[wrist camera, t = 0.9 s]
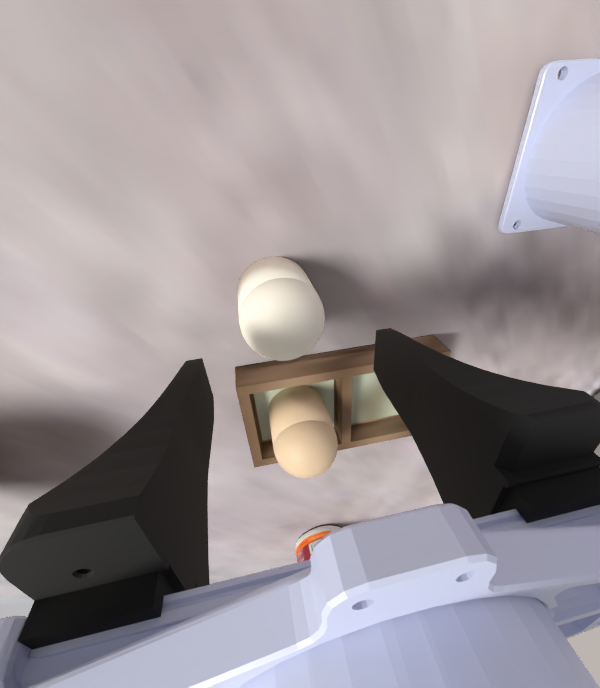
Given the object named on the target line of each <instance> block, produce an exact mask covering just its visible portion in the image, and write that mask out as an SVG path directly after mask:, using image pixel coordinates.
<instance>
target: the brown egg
mask: <svg viewBox="0 0 600 688" xmlns="http://www.w3.org/2000/svg"><path fill="white" fill-rule="evenodd" d="M268 414H269V421H270V428H271V435H272V442H273V449H274V453H275V457H276V459H277V461H278V463H279V464H280V466H281V467H282V468H283V469H284V470H285V471H286V472H288V473H289V474H291V475H293V476H295V477H299V478H312V477H316V476H318V475H320V474H322V473H324V472H325V471H326V470H327V469H328V468H329V467H330V466H331V464H332V463H333V461H334V459H335V457H336V453H337V447H338V443H337V436H336V433H335V430H334V427H333V424H332V422H331V419H330V416H329V413H328V411H327V408H326V405H325V402H324V400H323V397H322V395H321V394H320V392H318V391H317V390H316V389H314V388H312V387H309V386H303V385H300V386H294V387H288V388H286V389H283V390H282V391H280V392H279V393H277V394H276V395H275V396H274V397H273V398H272V400H271V401H270V403H269V407H268Z"/></svg>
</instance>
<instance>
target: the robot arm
mask: <svg viewBox="0 0 600 688" xmlns="http://www.w3.org/2000/svg"><path fill="white" fill-rule="evenodd" d="M559 70H561V75H560V77H559V79H558V72H559ZM515 222H516V225H515V226H514V227H513V225H514V223H515ZM567 226H572V227H576V228H580V229H584V230H588V231H592V232H596V233H600V58H592V59H574V60H556V61H552V62H549V63H547V64H546V65H545V66H543V68H542V69H541V71H540V73H539V76H538V79H537V83H536V87H535V91H534V94H533V98H532V102H531V105H530V109H529V113H528V117H527V120H526V124H525V128H524V131H523V135H522V139H521V143H520V146H519V150H518V154H517V157H516V161H515V165H514V169H513V172H512V176H511V180H510V183H509V187H508V191H507V195H506V198H505V202H504V206H503V209H502V213H501V217H500V221H499V224H498V230H499V232H500V233H503V234H511V233H519V232H527V231H535V230H543V229H551V228H559V227H567ZM373 370H374V372H375V374H376V376H377V379H378V381H379V383H380V385H381V387H382V389H383V391H384V392H385V394H386V396H387V397H388V399H389V400H390V402H391V403H392V405H393V407H394V408H395V410H396V411H397V413H398V414H399V416H400V417H401V419H402V420H403V422H404V424H405V425H406V427H407V428H408V430H409V432H410V433H411V435H412V437H413V439H414V440H415V442H416V444H417V446H418V448H419V450H420V452H421V454H422V456H423V459H424V461H425V463H426V465H427V467H428V469H429V471H430V473H431V476H432V478H433V480H434V482H435V485H436V487H437V489H438V491H439V494H440V496H441V498H442V501H443V503H444V504H437V505H431V506H427V507H423V508H419V509H415V510H410V511H406V512H402V513H398V514H394V515H389V516H385V517H381V518H377V519H373V520H368V521H364V522H360V523H356V524H352V525H348V526H345V527H343V528H340V529H337V530H335V531H332V532H330V533H329V534H327V535H326V536H325V537H324V538H322V539H321V540H320V541H318V542H317V544H316V545H315V547H314V550H313V552H312V554H311V557H310V560H307V561H303V562H299V563H295V564H291V565H287V566H282V567H278V568H274V569H270V570H266V571H262V572H258V573H254V574H250V575H246V576H242V577H238V578H234V579H230V580H226V581H222V582H218V583H214V584H210V585H209V564H208V512H207V495H208V468H209V459H210V451H211V442H212V433H213V424H214V400H213V394H212V391H211V387H210V384H209V380H208V377H207V374H206V370H205V367H204V363H203V360H202V358H201V359H195V360H189V361H186V362H185V363H184V365H183V366H182V367H181V369H180V370H179V371H178V373H177V374H176V376H175V377H174V379H173V380H172V381H171V383H170V384H169V385H168V387H167V388H166V389H165V391H164V392H163V393H162V395H161V396H160V397H159V398H158V400H157V401H156V402H155V403H154V404H153V406H152V407H151V408H150V409H149V410H148V412H147V413H146V414H145V415H144V416H143V417H142V418H141V419H140V420H139V421H138V422H137V423H136V424H135V425H134V426H133V427H132V428H131V429H130V430H129V431H128V432H127V433H126V434H125V435H124V436H123V437H121V438H120V439H119V440H118V441H117V442H116V443H114V444H113V445H112V446H111V447H110V448H109V449H107V450H106V451H105V452H104V453H103V454H101V455H100V456H99V457H98V458H96V459H95V460H94V461H92V462H91V463H90V464H88V465H87V466H86V467H84V468H83V469H82V470H80V471H79V472H77V473H76V474H75V475H73V476H72V477H70V478H69V479H67V480H66V481H64V482H63V483H61V484H60V485H58V486H57V487H55V488H54V489H52V490H50V491H49V492H47V493H46V494H44V495H43V496H41V497H40V498H38V499H36V500H35V501H33V502H31V503H30V504H29V505H28V507H27V508H26V510H25V512H24V514H23V515H22V517H21V519H20V521H19V522H18V524H17V526H16V528H15V530H14V531H13V533H12V535H11V537H10V539H9V541H8V542H7V544H6V546H5V548H4V550H3V551H2V553H1V555H0V573H1V574H2V575H3V576H4V577H5V578H6V579H7V580H8V581H9V582H10V583H12V584H13V585H14V586H16V587H17V588H18V589H20V590H21V591H22V592H24V593H25V594H26V595H28V596H29V597H31V598H32V599H33V600H35V601H34V604H33V606H32V608H31V611H30V613H29V616H28V617H25V616H12V617H6V618H2V619H0V688H599V686H598V685H597V683H596V682H595V680H594V679H593V677H592V676H591V674H590V673H589V671H588V670H587V668H586V667H585V666H584V664H583V663H582V661H581V660H580V658H579V657H578V655H577V654H576V652H575V651H574V649H573V648H572V647H571V645H570V644H569V642H568V641H567V638H570V637H572V636H575V635H578V634H580V633H583V632H586V631H588V630H591V629H593V628H596V627H599V626H600V467H599V466H600V457H598V456H597V455H596V454H595V453H594V450H595V449H596V448H597V446H598V445H599V443H600V402H599V401H597V400H596V399H594V398H593V397H592V396H590V395H589V394H588V393H586V392H584V391H579V390H572V389H566V388H559V387H553V386H547V385H541V384H537V383H532V382H527V381H522V380H518V379H514V378H510V377H506V376H503V375H499V374H496V373H492V372H489V371H486V370H482V369H480V368H477V367H474V366H471V365H468V364H466V363H463V362H460V361H458V360H455V359H453V358H451V357H448V356H446V355H444V354H442V353H439V352H437V351H435V350H433V349H431V348H429V347H427V346H425V345H423V344H421V343H419V342H417V341H415V340H413V339H411V338H409V337H407V336H406V335H404V334H402V333H400V332H398V331H395V330H393V329H391V328H389V329H382V330H376V341H375V354H374V367H373Z"/></svg>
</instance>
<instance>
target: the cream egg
mask: <svg viewBox="0 0 600 688" xmlns="http://www.w3.org/2000/svg"><path fill="white" fill-rule="evenodd" d="M238 310H239V323H240V329H241V332H242V334H243V337H244V339H245V340H246V342H247V343H248V345H249V346H250V347H251V348H252V349H253V350H254V351H255V352H257V353H258V354H260V355H261V356H263V357H265V358H268V359H272V360H278V361H287V360H293V359H296V358H299V357H301V356H303V355H304V354H306V353H307V352H309V351H310V350H311V349H312V348H313V347H314V346H315V345H316V343H317V342H318V340H319V339H320V336H321V334H322V332H323V328H324V323H325V315H324V308H323V304H322V302H321V300H320V297H319V296H318V294H317V292H316V291H315V289H314V287H313V285H312V284H311V282H310V280H309V279H308V277H307V275H306V273H305V272H304V270H303V269H302V268H301V267H300V266H299V265H298V264H296V263H295V262H293V261H292V260H290V259H287V258H283V257H267V258H263V259H260V260H258V261H256V262H254V263H253V264H251V265H250V266H249V267H248V268H247V269H246V270H245V272H244V273H243V274H242V276H241V278H240V281H239V284H238Z"/></svg>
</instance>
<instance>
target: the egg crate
mask: <svg viewBox="0 0 600 688" xmlns="http://www.w3.org/2000/svg"><path fill="white" fill-rule="evenodd" d="M411 339H413V340H415V341H417V342H419V343H421V344H423V345H425V346H427V347H429V348H431V349H433V350H435V351H437V352H439V353H442V354H444V355H446V356H448V357H450V352H451V351H450V350H449V349H448V348H447V347H446V346H445V345H444V344H443V343H442V342H441V341H439V340H438V339H437V338H436V337H435V336H434V335H429V336H423V337H417V338H411ZM374 354H375V344H374V345H368V346H362V347H356V348H349V349H343V350H337V351H331V352H325V353H319V354H313V355H307V356H301V357H299V358H296V359H293V360H287V361H278V360H276V361H270V362H264V363H258V364H251V365H245V366H239V367H235V373H236V391H237V395H238V399H239V404H240V408H241V412H242V416H243V421H244V425H245V429H246V433H247V438H248V442H249V446H250V451H251V455H252V459H253V463H254V467H259V466H264V465H269V464H274V463H278V461H277V459H276V457H275V453H274V449H273V442H272V435H271V428H270V421H269V414H268V407H269V403H270V401H271V400H272V398H273V397H274V396H275V395H276V394H277V393H279V392H280V391H282V390H283V389H286V388H288V387H294V386H300V385H303V386H309V387H312V388H314V389H316V390H317V391H318V392H320V394H321V395H322V397H323V400H324V402H325V405H326V408H327V411H328V413H329V416H330V419H331V422H332V424H333V427H334V430H335V433H336V436H337V443H338V447H337V451H338V450H343V449H348V448H353V447H358V446H363V445H368V444H372V443H377V442H382V441H387V440H392V439H397V438H402V437H407V436H412V435H411V433H410V432H409V430H408V428H407V427H406V425H405V424H404V422H403V420H402V419H401V417H400V416H399V414H398V413H397V411H396V410H395V408H394V407H393V405H392V403H391V402H390V400H389V399H388V397H387V396H386V394H385V392H384V391H383V389H382V387H381V385H380V383H379V381H378V379H377V376H376V374H375V372H374V370H373V367H374Z"/></svg>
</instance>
